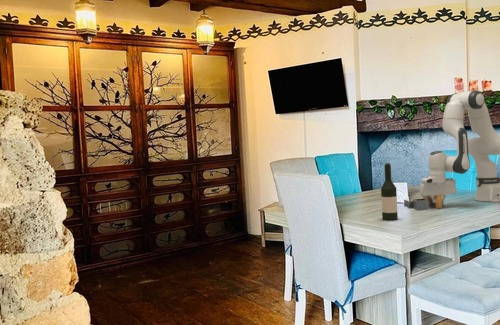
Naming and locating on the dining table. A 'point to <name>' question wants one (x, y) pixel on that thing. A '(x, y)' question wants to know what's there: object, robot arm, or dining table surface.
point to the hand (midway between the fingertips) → (438, 202)
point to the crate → (428, 198)
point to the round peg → (438, 201)
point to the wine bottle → (389, 197)
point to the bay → (410, 204)
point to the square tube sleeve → (420, 204)
